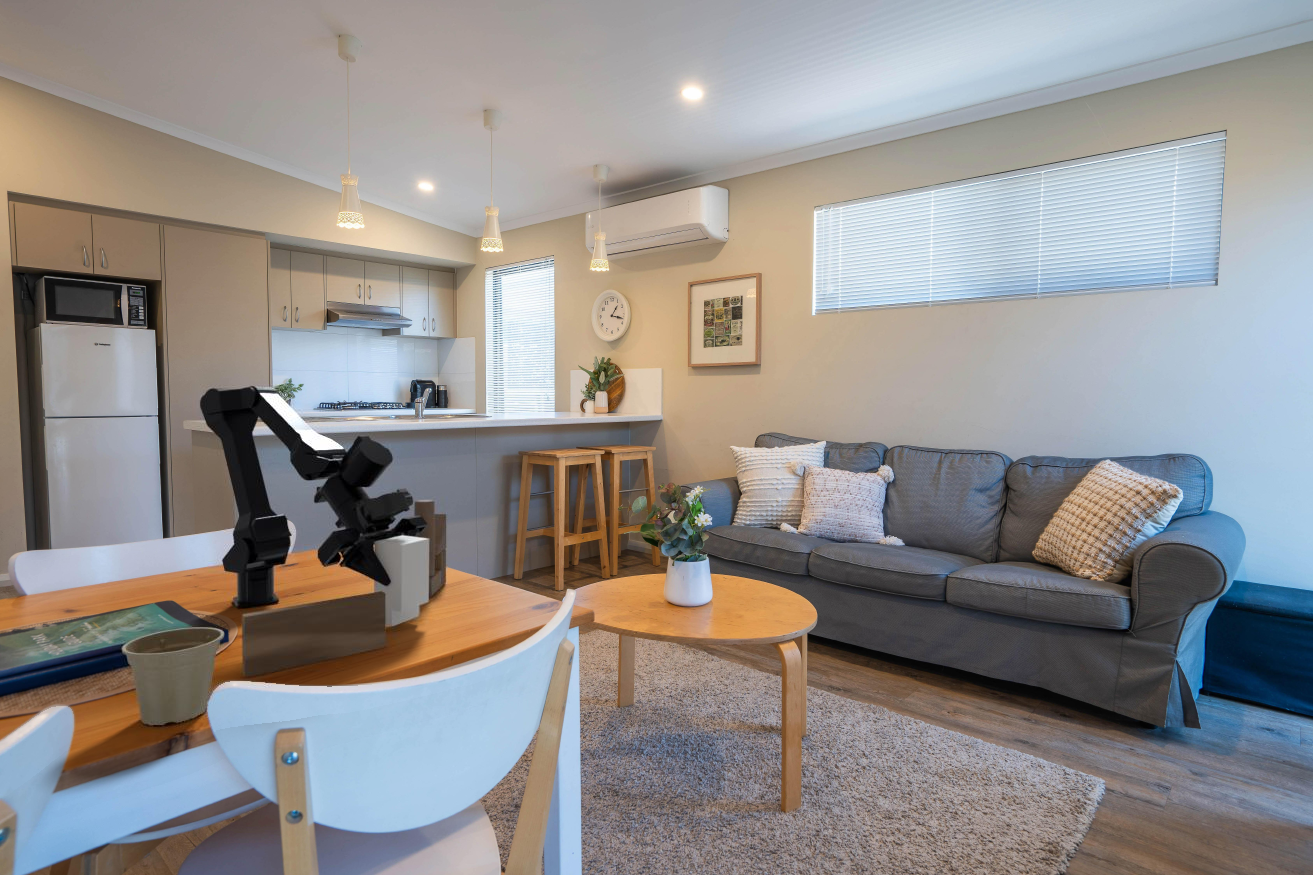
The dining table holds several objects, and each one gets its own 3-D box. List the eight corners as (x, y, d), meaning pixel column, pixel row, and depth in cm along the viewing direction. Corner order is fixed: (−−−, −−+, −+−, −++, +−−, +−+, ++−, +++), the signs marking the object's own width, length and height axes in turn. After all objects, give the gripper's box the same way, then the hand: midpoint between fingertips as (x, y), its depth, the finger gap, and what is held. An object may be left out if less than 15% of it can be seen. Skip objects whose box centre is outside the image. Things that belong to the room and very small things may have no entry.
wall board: (240, 671, 90) (239, 612, 89) (378, 641, 102) (378, 589, 101) (245, 677, 88) (244, 616, 87) (385, 646, 100) (385, 593, 99)
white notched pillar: (370, 622, 107) (370, 541, 107) (398, 612, 113) (398, 534, 112) (401, 628, 105) (402, 545, 104) (428, 617, 110) (429, 538, 110)
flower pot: (158, 697, 81) (157, 626, 81) (240, 695, 82) (240, 625, 82) (101, 735, 72) (99, 655, 72) (194, 732, 73) (193, 653, 72)
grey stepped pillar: (446, 583, 137) (446, 494, 136) (431, 597, 126) (431, 501, 125) (428, 583, 137) (427, 494, 136) (411, 597, 126) (411, 501, 125)
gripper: (331, 478, 101) (387, 559, 97) (420, 469, 118) (470, 538, 114) (293, 526, 104) (346, 606, 101) (385, 510, 122) (433, 578, 118)
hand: (403, 579), depth 108 cm, fingers closed on white notched pillar, 6 cm apart
